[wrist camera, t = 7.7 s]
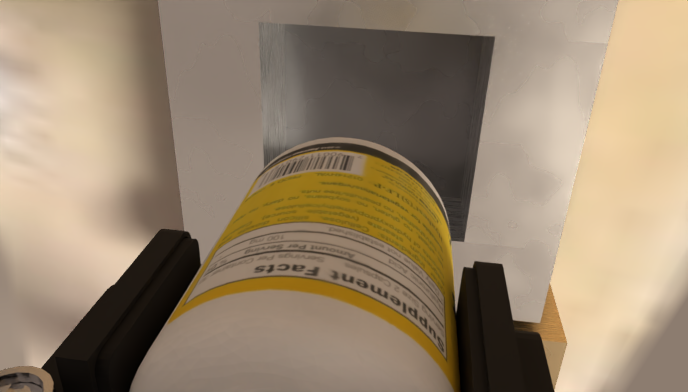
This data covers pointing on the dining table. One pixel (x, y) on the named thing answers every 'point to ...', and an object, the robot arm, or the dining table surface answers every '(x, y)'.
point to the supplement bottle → (320, 284)
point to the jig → (399, 113)
